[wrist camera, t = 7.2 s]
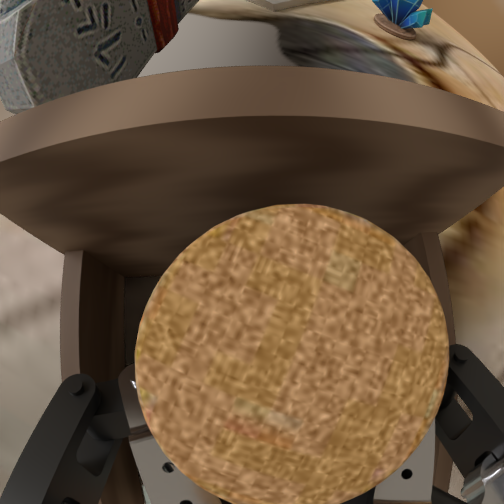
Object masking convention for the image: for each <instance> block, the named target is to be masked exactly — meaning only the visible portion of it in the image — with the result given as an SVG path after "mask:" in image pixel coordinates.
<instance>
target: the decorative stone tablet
mask: <svg viewBox="0 0 504 504" xmlns="http://www.w3.org/2000/svg"><path fill="white" fill-rule="evenodd" d="M198 1H199V0H0V99H1V101H2V103H3V105H4V107H5V109H6V110H7V111H9V112H11V113H13V114H15V115H16V114H18V113H21V112H23V111H26V110H28V109H31V108H33V107H36V106H38V105H41V104H44V103H47V102H49V101H52V100H55V99H58V98H61V97H64V96H67V95H70V94H74V93H77V92H80V91H84V90H87V89H91V88H95V87H98V86H102V85H106V84H111V83H115V82H119V81H124V80H128V79H133V78H137V76H138V75H139V74H140V72H141V71H142V69H143V68H144V67H145V65H146V64H147V63H148V61H149V60H150V58H151V57H152V56H153V54H154V53H158V52H160V51H161V50H162V49H163V48H164V47H165V46H166V45H167V44H168V43H169V42H170V41H171V40H172V39H173V38H174V37H175V35H176V33H177V32H178V23H179V22H180V21H181V20H182V19H183V18H184V16H185V15H186V14H187V13H188V12H189V11H190V10H191V9H192V8H193V7H194V6H195V4H196V3H197V2H198Z"/></svg>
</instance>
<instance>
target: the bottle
mask: <svg viewBox="0 0 504 504" xmlns="http://www.w3.org/2000/svg"><path fill="white" fill-rule="evenodd" d="M448 367H449V340H448V332H447V326H446V321H445V316H444V312H443V309H442V305H441V303H440V300H439V298H438V296H437V293H436V291H435V289H434V287H433V285H432V283H431V280H430V278H429V277H428V275H427V274H426V273H425V271H424V270H423V268H422V267H421V265H420V264H419V262H418V261H417V260H416V258H415V257H414V256H413V255H412V254H411V253H410V252H409V251H408V250H407V249H406V248H405V247H404V246H403V245H402V244H401V243H400V242H399V241H397V240H396V239H395V238H394V237H393V236H392V235H390V234H389V233H387V232H386V231H384V230H383V229H381V228H379V227H378V226H376V225H375V224H373V223H372V222H370V221H368V220H367V219H364V218H362V217H359V216H357V215H354V214H352V213H349V212H345V211H342V210H338V209H334V208H331V207H327V206H322V205H312V204H286V205H274V206H269V207H265V208H261V209H256V210H252V211H249V212H246V213H243V214H240V215H237V216H235V217H233V218H231V219H229V220H226V221H224V222H222V223H220V224H218V225H216V226H214V227H213V228H211V229H210V230H209V231H207V232H206V233H205V234H203V235H202V236H200V237H199V238H198V239H196V240H195V241H194V242H193V243H191V244H190V245H189V246H188V247H187V248H186V249H185V250H184V251H183V252H182V253H180V254H179V255H178V257H177V258H176V259H175V260H174V262H173V263H172V264H171V265H170V266H169V268H168V269H167V270H166V271H165V273H164V274H163V275H162V277H161V279H160V280H159V282H158V283H157V285H156V287H155V288H154V290H153V292H152V294H151V296H150V298H149V300H148V303H147V305H146V307H145V310H144V313H143V316H142V319H141V322H140V325H139V330H138V336H137V342H136V347H135V379H136V386H137V393H138V399H139V402H140V405H141V408H142V412H143V415H144V418H145V421H146V423H147V425H148V427H149V429H150V431H151V433H152V435H153V436H154V438H155V440H156V441H157V443H158V445H159V446H160V448H161V449H162V451H163V452H164V454H165V455H166V456H167V457H168V458H169V459H170V460H171V462H172V463H173V464H174V465H175V466H176V467H177V468H178V469H179V470H180V471H181V472H182V473H183V474H184V475H185V476H187V477H188V478H189V479H190V480H192V481H193V482H194V483H195V484H197V485H198V486H199V487H201V488H202V489H204V490H206V491H208V492H209V493H211V494H213V495H215V496H217V497H219V498H221V499H224V500H226V501H228V502H230V503H233V504H340V503H343V502H345V501H348V500H350V499H352V498H355V497H357V496H359V495H362V494H363V493H365V492H367V491H368V490H370V489H372V488H373V487H375V486H376V485H378V484H379V483H381V482H383V481H384V480H386V479H387V478H388V477H389V476H390V475H392V474H393V473H394V472H395V471H396V470H397V469H398V468H399V467H401V466H402V465H403V463H404V462H405V461H406V460H407V459H408V458H409V457H410V456H411V454H412V453H413V452H414V451H415V450H416V448H417V447H418V446H419V445H420V443H421V441H422V440H423V438H424V436H425V435H426V433H427V431H428V430H429V428H430V426H431V424H432V422H433V420H434V418H435V416H436V414H437V412H438V410H439V407H440V404H441V401H442V398H443V395H444V390H445V386H446V381H447V376H448Z"/></svg>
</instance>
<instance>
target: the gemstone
mask: <svg viewBox="0 0 504 504" xmlns="http://www.w3.org/2000/svg"><path fill="white" fill-rule="evenodd" d="M372 1H373V2H374V3H375V5H376V6H377V7H378V8H379V9H380V10H381V11H382V13H383V14H376V15H375V17H374V21H375V23H376V24H377V25H378V26H379V27H380V28H382V29H383V30H385V31H386V32H388V33H390V34H392V35H394V36H397V37H400V38H403V39H407V40H412V39H414V38H415V37H416V32H415V31H414V29H413V28H422V27H423V25H427V24H429V22H430V18H431V13H432V9H426V10H420V11H416V10H417V9H418V8H419V7H420V5H421V3H422V1H423V0H372Z"/></svg>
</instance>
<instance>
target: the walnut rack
mask: <svg viewBox="0 0 504 504" xmlns="http://www.w3.org/2000/svg"><path fill="white" fill-rule="evenodd" d="M502 187H504V112H502V111H500V110H498V109H495V108H493V107H490V106H488V105H485V104H482V103H480V102H477V101H474V100H471V99H468V98H465V97H462V96H459V95H456V94H453V93H450V92H446V91H443V90H440V89H436V88H432V87H429V86H425V85H421V84H417V83H413V82H408V81H404V80H399V79H394V78H389V77H384V76H378V75H372V74H366V73H359V72H352V71H344V70H336V69H326V68H313V67H297V66H234V67H233V66H231V67H215V68H203V69H193V70H184V71H176V72H169V73H162V74H156V75H150V76H144V77H139V78H133V79H128V80H124V81H119V82H115V83H111V84H106V85H102V86H98V87H95V88H91V89H87V90H84V91H80V92H77V93H74V94H70V95H67V96H64V97H61V98H58V99H55V100H52V101H49V102H47V103H44V104H41V105H38V106H36V107H33V108H31V109H28V110H26V111H23V112H21V113H18V114H16V115H14V116H11V117H9V118H7V119H5V120H2V121H0V213H1V214H2V215H4V216H5V217H6V218H8V219H9V220H11V221H12V222H14V223H15V224H17V225H18V226H20V227H21V228H23V229H24V230H26V231H27V232H29V233H30V234H32V235H33V236H35V237H36V238H38V239H40V240H41V241H43V242H44V243H46V244H48V245H49V246H51V247H52V248H54V249H56V250H57V251H59V252H61V253H62V254H64V255H65V258H64V267H63V278H62V291H61V312H60V355H61V375H62V382H63V381H64V380H65V379H66V378H68V377H69V376H71V375H74V374H86V375H89V376H90V377H91V378H92V379H93V380H94V382H95V383H99V382H105V381H110V380H114V379H117V378H119V375H120V373H121V372H122V371H123V370H124V369H125V348H124V285H125V277H148V276H162V275H163V274H164V273H165V271H166V270H167V269H168V268H169V266H170V265H171V264H172V263H173V262H174V260H175V259H176V258H177V257H178V255H179V254H180V253H182V252H183V251H184V250H185V249H186V248H187V247H188V246H189V245H190V244H191V243H193V242H194V241H195V240H196V239H198V238H199V237H200V236H202V235H203V234H205V233H206V232H207V231H209V230H210V229H211V228H213V227H214V226H216V225H218V224H220V223H222V222H224V221H226V220H229V219H231V218H233V217H235V216H237V215H240V214H243V213H246V212H249V211H252V210H256V209H261V208H265V207H269V206H274V205H286V204H312V205H322V206H327V207H331V208H334V209H338V210H342V211H345V212H349V213H352V214H354V215H357V216H359V217H362V218H364V219H367V220H368V221H370V222H372V223H373V224H375V225H376V226H378V227H379V228H381V229H383V230H384V231H386V232H387V233H389V234H390V235H392V236H393V237H394V238H395V239H396V240H397V241H399V242H400V243H401V244H402V245H403V246H404V247H405V248H406V249H407V250H408V251H409V252H410V253H411V254H412V255H413V256H414V257H415V258H416V260H417V261H418V262H419V264H420V265H421V267H422V268H423V270H424V271H425V273H426V274H427V275H428V277H429V278H430V280H431V283H432V285H433V287H434V289H435V291H436V293H437V296H438V298H439V300H440V303H441V305H442V309H443V312H444V316H445V321H446V326H447V332H448V340H449V346H450V345H453V344H456V342H455V330H454V321H453V312H452V305H451V298H450V291H449V285H448V280H447V274H446V269H445V264H444V259H443V254H442V250H441V245H440V241H439V237H438V234H440V233H441V232H443V231H444V230H446V229H447V228H448V227H450V226H451V225H453V224H454V223H456V222H457V221H458V220H460V219H461V218H463V217H464V216H465V215H467V214H468V213H469V212H471V211H472V210H474V209H475V208H476V207H478V206H479V205H480V204H482V203H483V202H484V201H486V200H487V199H488V198H489V197H491V196H492V195H493V194H495V193H496V192H497V191H498V190H500V189H501V188H502ZM455 400H456V401H457V395H456V396H455ZM452 464H453V460H452V458H451V457H450V455H449V454H448V452H447V451H446V449H445V448H444V446H443V445H442V443H441V441H440V440H439V438H438V437H437V436H436V434H435V455H434V472H433V484H432V485H434V486H436V487H437V488H439V489H441V490H443V491H445V492H447V493H448V489H449V483H450V477H451V471H452ZM98 504H144V499H143V495H142V490H141V486H140V481H139V476H138V470H137V465H136V462H135V459H134V456H133V452H132V449H131V446H130V443H129V438H128V437H125V438H123V440H122V443H121V445H120V448H119V450H118V453H117V455H116V458H115V460H114V463H113V465H112V468H111V471H110V473H109V476H108V479H107V481H106V484H105V487H104V489H103V492H102V495H101V497H100V500H99V503H98Z"/></svg>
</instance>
